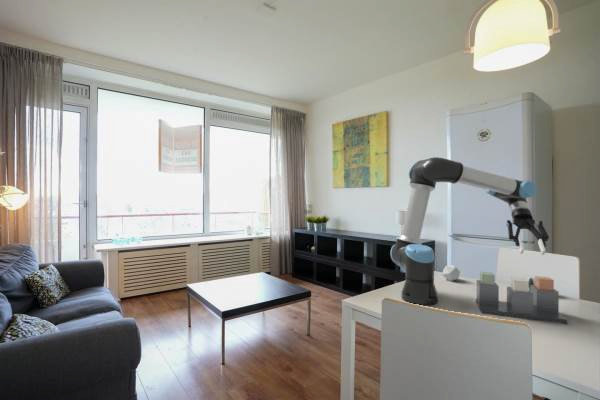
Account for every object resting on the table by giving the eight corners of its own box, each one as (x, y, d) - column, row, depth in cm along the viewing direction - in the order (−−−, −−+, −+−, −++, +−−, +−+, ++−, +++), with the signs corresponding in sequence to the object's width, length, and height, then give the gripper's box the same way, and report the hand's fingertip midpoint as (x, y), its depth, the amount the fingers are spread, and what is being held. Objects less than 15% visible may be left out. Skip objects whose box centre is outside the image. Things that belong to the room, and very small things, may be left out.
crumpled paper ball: (462, 283, 155) (464, 267, 160) (450, 276, 153) (452, 260, 158) (450, 285, 162) (451, 269, 167) (438, 278, 160) (440, 262, 165)
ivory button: (514, 302, 111) (514, 280, 111) (510, 299, 115) (511, 277, 115) (528, 304, 109) (528, 281, 109) (524, 300, 113) (524, 278, 113)
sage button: (482, 294, 120) (482, 274, 120) (480, 291, 124) (480, 271, 124) (494, 296, 118) (494, 275, 118) (492, 292, 122) (492, 272, 122)
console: (481, 312, 114) (481, 288, 114) (475, 301, 126) (475, 279, 126) (567, 323, 104) (567, 297, 104) (551, 310, 116) (551, 286, 116)
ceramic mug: (555, 297, 131) (554, 281, 132) (533, 295, 134) (533, 279, 134) (544, 291, 141) (544, 275, 141) (525, 289, 144) (525, 274, 144)
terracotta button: (539, 300, 113) (539, 278, 113) (535, 297, 117) (535, 276, 117) (553, 302, 111) (553, 280, 111) (548, 298, 115) (548, 277, 115)
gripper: (544, 218, 139) (559, 259, 124) (495, 217, 147) (503, 255, 132) (548, 207, 134) (564, 248, 119) (497, 207, 142) (507, 245, 127)
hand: (532, 252), depth 125 cm, fingers open, 7 cm apart
